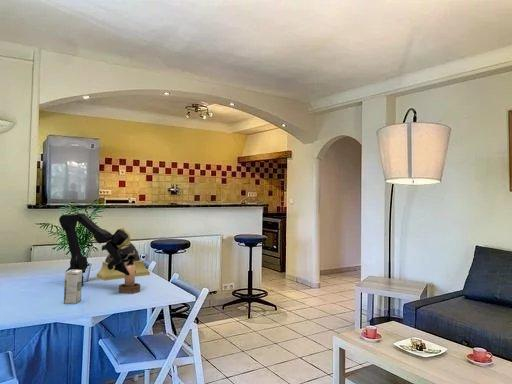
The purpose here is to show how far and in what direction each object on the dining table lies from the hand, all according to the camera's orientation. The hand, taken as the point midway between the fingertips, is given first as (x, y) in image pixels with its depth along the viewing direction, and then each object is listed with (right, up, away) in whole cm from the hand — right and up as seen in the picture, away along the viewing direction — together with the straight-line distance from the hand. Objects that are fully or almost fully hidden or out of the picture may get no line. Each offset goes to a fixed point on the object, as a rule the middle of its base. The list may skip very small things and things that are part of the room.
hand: (132, 273), depth 198 cm
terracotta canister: (-2, -7, 0) cm, 7 cm away
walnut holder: (-1, -9, 0) cm, 9 cm away
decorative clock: (-17, -9, +37) cm, 42 cm away
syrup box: (-21, -9, -21) cm, 31 cm away
